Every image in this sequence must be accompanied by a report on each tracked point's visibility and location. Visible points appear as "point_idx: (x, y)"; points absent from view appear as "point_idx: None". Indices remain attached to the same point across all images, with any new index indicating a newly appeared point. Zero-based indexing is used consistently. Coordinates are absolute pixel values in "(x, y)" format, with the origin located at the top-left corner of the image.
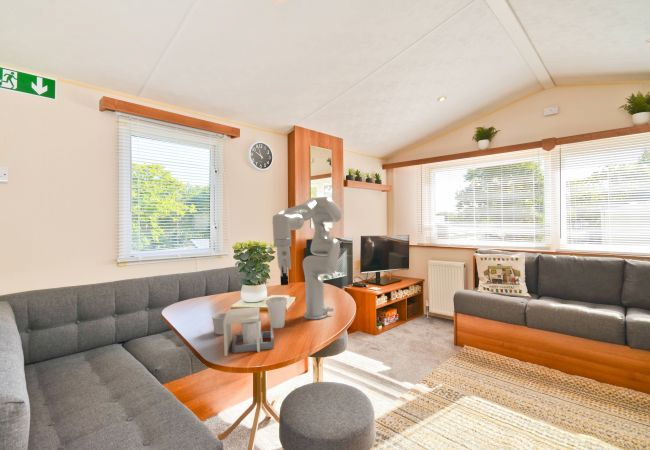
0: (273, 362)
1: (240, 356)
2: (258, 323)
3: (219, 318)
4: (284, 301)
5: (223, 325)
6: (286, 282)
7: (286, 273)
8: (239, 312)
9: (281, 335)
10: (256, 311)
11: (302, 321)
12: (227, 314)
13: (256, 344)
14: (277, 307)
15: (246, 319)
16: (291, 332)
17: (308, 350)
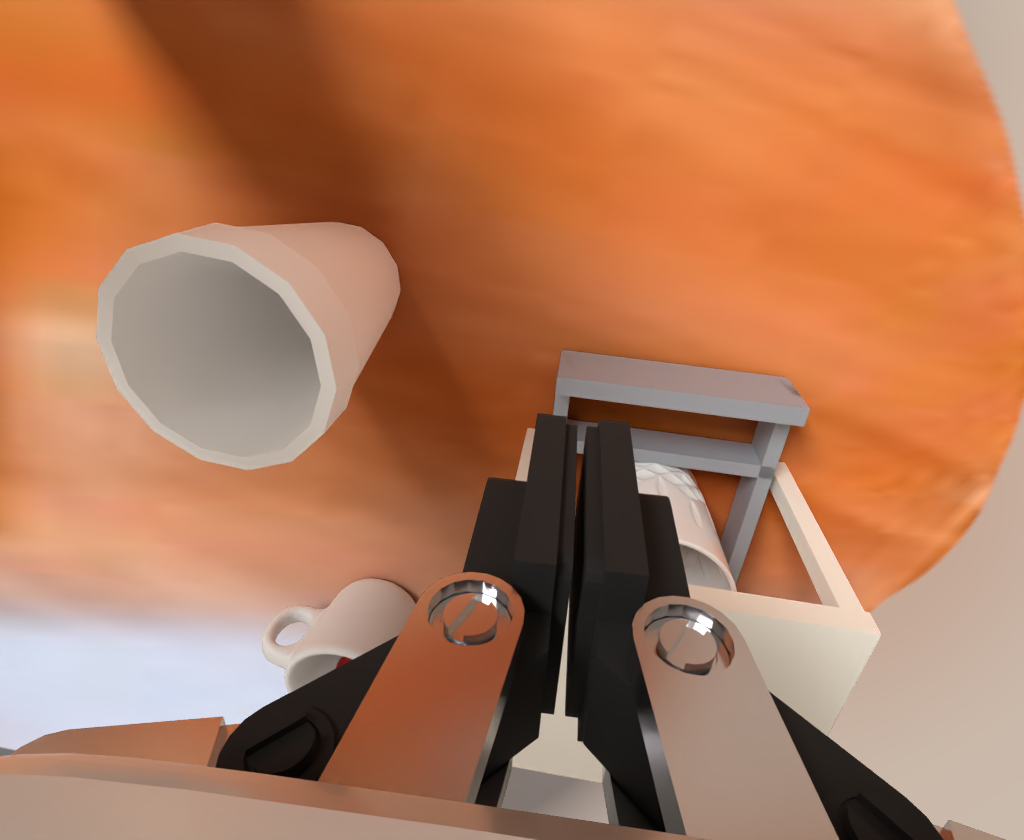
0: (1000, 411)
1: (781, 557)
2: (854, 597)
3: None
4: (294, 279)
5: None
6: (666, 502)
7: (871, 772)
8: None
9: (558, 283)
10: None
11: (262, 15)
12: None
13: (763, 498)
14: (355, 351)
15: (841, 706)
16: (523, 190)
17: (990, 123)
